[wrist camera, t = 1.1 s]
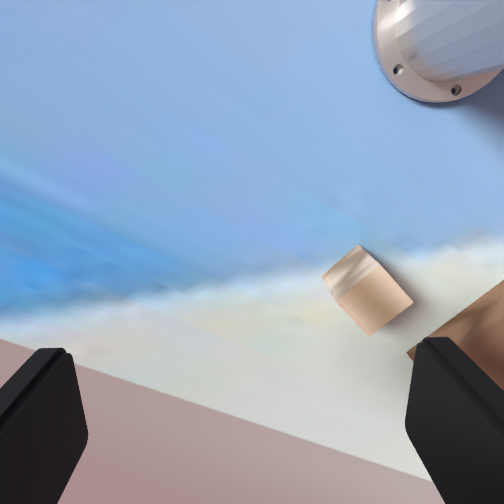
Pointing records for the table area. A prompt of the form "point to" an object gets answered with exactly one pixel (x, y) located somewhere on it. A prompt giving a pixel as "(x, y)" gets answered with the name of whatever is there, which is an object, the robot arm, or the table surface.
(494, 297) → the walnut base
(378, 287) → the maple block
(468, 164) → the table surface
